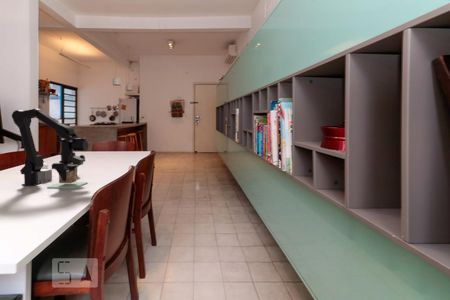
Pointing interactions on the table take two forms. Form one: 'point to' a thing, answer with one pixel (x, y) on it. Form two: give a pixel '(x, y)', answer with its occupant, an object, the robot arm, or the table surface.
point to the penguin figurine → (45, 166)
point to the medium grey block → (45, 175)
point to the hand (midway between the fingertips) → (67, 180)
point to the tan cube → (69, 177)
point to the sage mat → (67, 185)
